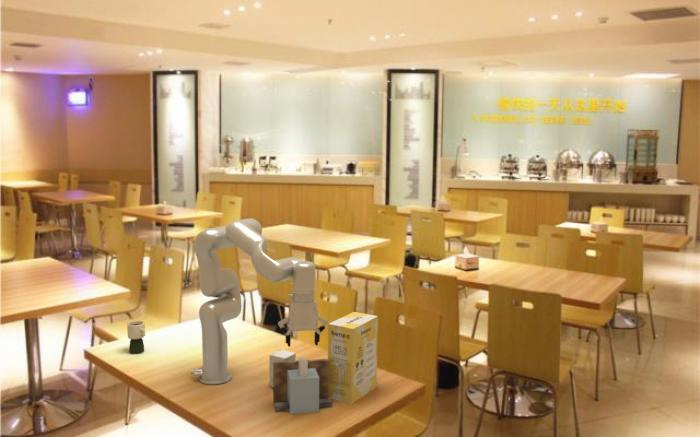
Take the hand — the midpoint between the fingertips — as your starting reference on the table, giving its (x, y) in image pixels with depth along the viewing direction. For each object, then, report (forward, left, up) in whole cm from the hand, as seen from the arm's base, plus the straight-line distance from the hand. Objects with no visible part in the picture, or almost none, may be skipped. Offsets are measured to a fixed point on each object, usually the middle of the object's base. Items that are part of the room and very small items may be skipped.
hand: (302, 344), depth 224 cm
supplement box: (-5, +20, -23) cm, 31 cm away
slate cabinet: (0, 0, -23) cm, 23 cm away
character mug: (-63, +67, -23) cm, 95 cm away
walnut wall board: (0, +2, -23) cm, 23 cm away
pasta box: (+20, +9, -23) cm, 32 cm away
